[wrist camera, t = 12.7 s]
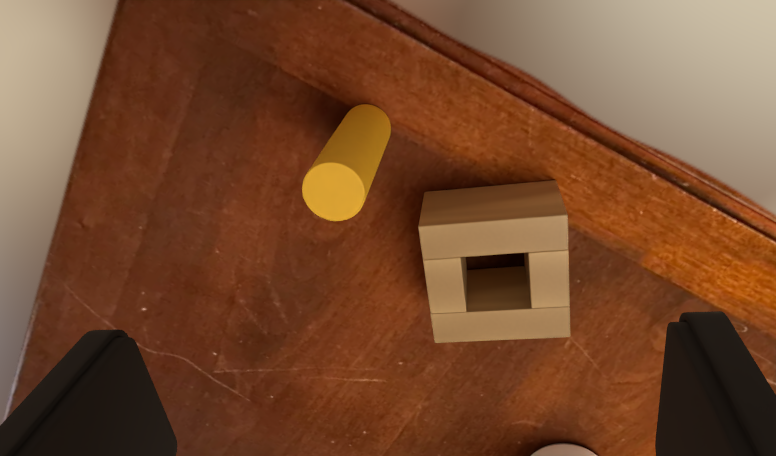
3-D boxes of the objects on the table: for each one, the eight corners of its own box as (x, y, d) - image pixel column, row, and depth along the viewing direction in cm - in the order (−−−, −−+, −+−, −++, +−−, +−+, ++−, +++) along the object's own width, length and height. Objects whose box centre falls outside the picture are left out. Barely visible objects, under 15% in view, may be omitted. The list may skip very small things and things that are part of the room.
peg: (339, 106, 36) (295, 165, 27) (387, 101, 35) (359, 159, 26) (347, 153, 37) (309, 223, 28) (394, 148, 37) (369, 219, 28)
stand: (424, 191, 38) (417, 226, 33) (556, 179, 36) (567, 214, 32) (438, 298, 41) (434, 343, 37) (559, 291, 40) (570, 337, 35)
